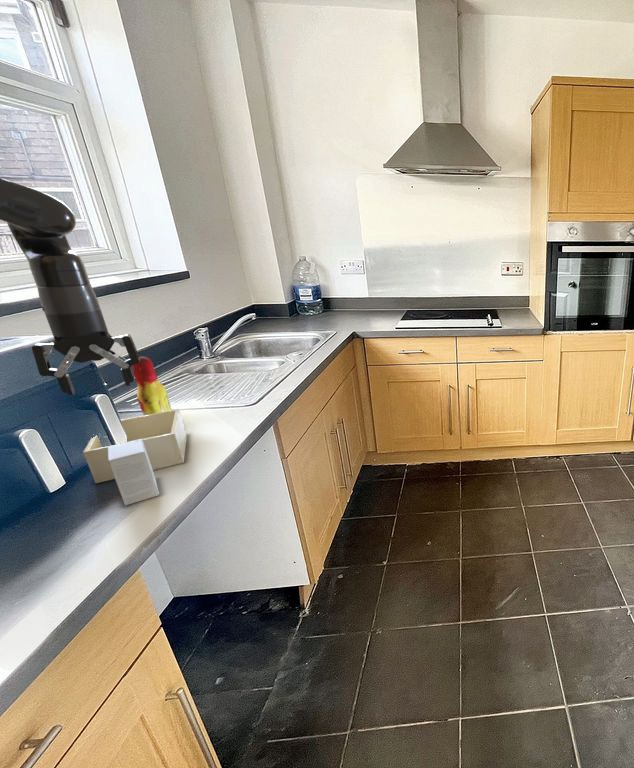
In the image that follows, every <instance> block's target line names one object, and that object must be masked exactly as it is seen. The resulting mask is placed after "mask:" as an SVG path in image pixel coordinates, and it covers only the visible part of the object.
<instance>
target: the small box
mask: <svg viewBox="0 0 634 768" xmlns="http://www.w3.org/2000/svg"><path fill="white" fill-rule="evenodd" d="M108 462H109V465H110V467H111V470H112V473H113V475H114V478H115V479H114V480H115V482H116V485H117V488H118V491H119V493H120V495H121V498H122V501H123V504H124V506H129V505H132V504H134V503H135V504H136V503H139V502H141V501H143V500H148V499H151V498H154V497H157V496H159V495H160V492H159V488H158V484H157V480H156V479H157V478H156V475H155V473H154V470H153V469H152V466H151V463H150V460H149V457H148V454H147V451H146V448H145V445H144V442H143V439H138V440H134V441H130V442H125V443H121V444H117V445H113V446H109V447H108Z"/></svg>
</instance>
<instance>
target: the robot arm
mask: <svg viewBox="0 0 634 768" xmlns="http://www.w3.org/2000/svg"><path fill="white" fill-rule="evenodd" d="M0 221H2V222H5V223H6V224H7V227H8V228H9V231H10V232H11V234H12V236H13V239H14V240H15V241H16V244H17V245H18V247H19V248H20V250H21V252H22V253H23V255H24V256H25V258H26V260H27V263H28V266H29V269H30V272H31V275H32V278H33V281H34V283H35V286H36V289H37V293H38V298H39V302H40V304H41V306H40V307H41V309H42V312H44V315H45V318H46V320H47V323H48V326H49V329H50V332H51V334H52V337H53V339H54V340H53V342H50V343H43V342H36V343H35V344H34V345H33V346H32V347H31V350H32V354H33V357H34V360H35V363H36V366H37V371H38V374H39V375H40V376H41V377H54V378H56V380H57V382H58V385H59V388H60V390H61V392H62V393H63V394H67V395H68V396H72V395H75V393H76V390H75V387H74V385H73V382H72V379H71V377H70V374H69V373H68V374H67V372H68V370H69V369H70V367H71V366H72V364H73V363H74V362H75V363H79V364H81V363H87V362H89V361H91V362H92V361H93V362H99V361H102V360H103V359H105V360H107V361H108V362H111V363H113V364H115V365H117V366H118V367H120V371H121V374H122V377H123V380H124V384H125V386H126V387H129V386H130V387H131V386H132V384H133V383H134V381H135V376H134V373H133V368H132V367H133V365H135V364H138V363H139V361H140V357H141V356H140V355H139V353H138V349H137V346H136V344H135V342H134V339H133V337H132V335H131V334H129V333H125V334H124V335H119V336H114V337H113V336H112V335H111V334H110V332H109V330H108V327H107V324H106V321H105V318H104V315H103V312H102V308H101V306H100V303H99V299H98V297H97V295H96V292H95V290H94V288H93V286H92V284H91V282H90V278H89V275H88V272H87V269H86V267H85V264H84V262H83V259H82V258H81V257H80V255H78V254H77V253H76V252H74V251H73V249H72V248H71V245H70V243H69V241H68V238H67V235H68V234H70V233H72V232H73V231H74V229H75V227H76V225H77V220H76V216H75V214H74V212H73V211H72V210H71V209H70V207H69V206H68V205H66V204H65V203H64V202H63V201H61V200H59V199H58V198H56V197H54V196H52V195H50V194H47V193H46V192H45V193H44V192H42V191H40V190H37V189H34V188H32V187H29V186H26V185H22V184H20V183H17V182H13V181H10V180H7V179H5V178H1V177H0ZM115 343H117V344H118V345H119V346H120V347H123V348H124V347H125V349H126V352H127V354H128V356H129V358H128V359H126V358H124V357H122V355H120V354H119V353H117V352H116V351H114V350H113V349H112V348H113V346H114V344H115ZM53 350H54V351H57V352H58V353H60V354H61V355H63V356H65V357H64V358H63V360H62V361H61V362H60V364H59V366H58V367H57V368H55V367H52V366H51V362H50V359H49V355H51V353H52V351H53Z"/></svg>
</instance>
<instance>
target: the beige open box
mask: <svg viewBox="0 0 634 768" xmlns="http://www.w3.org/2000/svg"><path fill="white" fill-rule="evenodd" d="M120 420H121V422H122V425H123V427H124V430H125V432H126V434H127V442H130V441H134V440H138V439H143V442H144V445H145V448H146V451H147V454H148V457H149V460H150V463H151V466H152V469H153V471H154V470H159V469H162V468H166V467H171V466H175V465H179V464H183V463H184V462H185V455H186V448H187V447H186V445H187V439H188V438H187V437H188V434H187V431H186V427H185V423H184V421H183V417H182V414H181V410H180V408H177V409H171V411H166V412H160V413H155V414H149V415H144V416H143V415H138V416H134V417H128V418H127V417H126V418H122V419H120ZM120 444H121V443H120ZM115 445H117V444H115ZM110 446H113V445H110ZM108 447H109V446H105V447H102V445H101V443H100V440H99V438H98V436H97V435H96V436H95V437H93V438H92V437H91V438H90V440H89V441H88V443H87V445H86V447H85V448H84V450H83V451H82V452H83V456H84V458H85V461H86V463H87V466H88V468H89V471H90V473H91V475H92V478H93V481H94V483H95V484H99V483H104V482H108V481H113V480H115V478H114V475H113V473H112V470H111V467H110V465H109V462H108Z"/></svg>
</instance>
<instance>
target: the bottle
mask: <svg viewBox="0 0 634 768" xmlns="http://www.w3.org/2000/svg"><path fill="white" fill-rule="evenodd" d="M139 357H140V361H139V363H138V364H135V365H132V373H133V376H134V381H135V382H136V384H137V392H136V400H137V402H138V405H139V408H140V411H141V413H142V416H144V415H149V414H155V413H160V412H166V411H171V410H172V407H171V406H172V405H171V403H170V399H169V395H168V392H167V389H166V387H165V386H164V385H163V384H162V383H161V382H160V381H159V378H158V376H157V372H156V369H155V367H154V364H153V362H152V360H151V359H150V358H148V357H147V356H139Z"/></svg>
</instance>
